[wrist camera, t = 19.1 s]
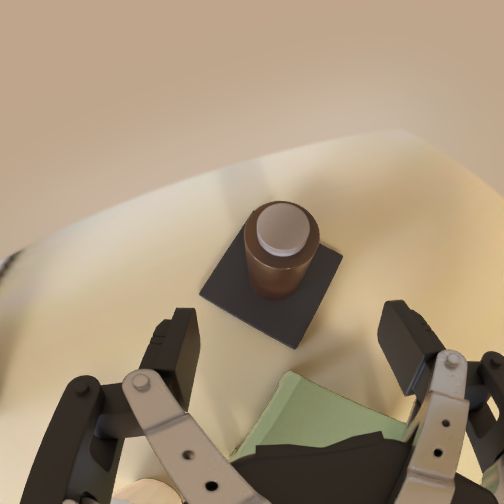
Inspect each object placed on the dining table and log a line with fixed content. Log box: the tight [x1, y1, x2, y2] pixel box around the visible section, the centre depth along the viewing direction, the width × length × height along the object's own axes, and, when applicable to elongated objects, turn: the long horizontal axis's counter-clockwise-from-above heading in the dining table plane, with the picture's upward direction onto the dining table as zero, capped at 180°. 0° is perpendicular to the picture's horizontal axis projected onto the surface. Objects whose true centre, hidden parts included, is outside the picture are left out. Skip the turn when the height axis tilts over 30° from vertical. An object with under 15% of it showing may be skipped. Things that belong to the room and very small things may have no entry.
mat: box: [199, 211, 343, 349], centre depth 27 cm, size 10×10×1 cm
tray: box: [229, 371, 406, 463], centre depth 18 cm, size 12×10×7 cm
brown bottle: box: [244, 201, 320, 301], centre depth 22 cm, size 5×5×10 cm
